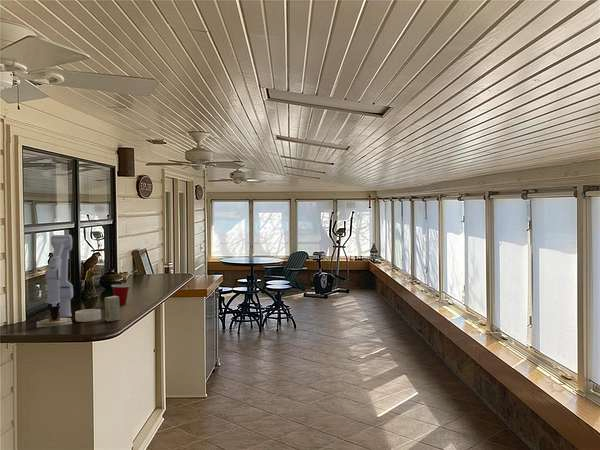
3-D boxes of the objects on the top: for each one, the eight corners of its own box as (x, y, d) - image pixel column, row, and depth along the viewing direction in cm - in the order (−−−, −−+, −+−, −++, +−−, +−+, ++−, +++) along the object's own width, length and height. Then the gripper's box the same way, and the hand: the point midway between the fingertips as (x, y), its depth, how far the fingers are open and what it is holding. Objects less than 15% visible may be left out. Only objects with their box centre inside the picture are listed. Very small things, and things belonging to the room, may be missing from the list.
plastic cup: (131, 305, 316) (130, 285, 315) (112, 306, 312) (111, 286, 311) (129, 302, 326) (129, 283, 325) (111, 303, 322) (110, 284, 321)
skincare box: (115, 318, 275) (115, 295, 274) (120, 319, 272) (119, 296, 272) (104, 320, 270) (103, 297, 269) (109, 321, 267) (108, 297, 267)
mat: (36, 322, 269) (36, 321, 269) (70, 318, 277) (70, 318, 277) (36, 328, 255) (36, 327, 255) (72, 324, 262) (72, 323, 262)
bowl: (75, 319, 276) (74, 310, 276) (99, 316, 281) (99, 308, 281) (76, 323, 265) (76, 314, 265) (101, 320, 270) (101, 311, 270)
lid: (38, 321, 269) (38, 310, 269) (68, 318, 275) (68, 308, 275) (39, 326, 256) (38, 315, 256) (70, 323, 263) (70, 312, 263)
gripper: (44, 290, 270) (45, 317, 270) (44, 294, 257) (45, 322, 257) (59, 289, 273) (60, 315, 274) (60, 293, 260) (61, 320, 261)
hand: (54, 318), depth 266 cm, fingers open, 7 cm apart
